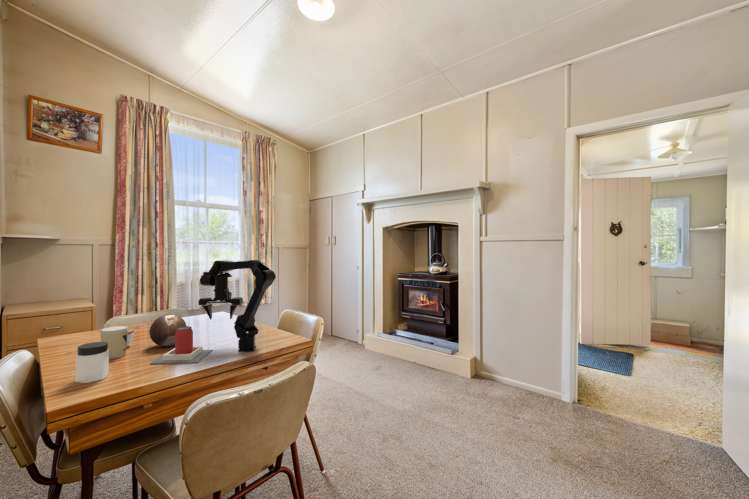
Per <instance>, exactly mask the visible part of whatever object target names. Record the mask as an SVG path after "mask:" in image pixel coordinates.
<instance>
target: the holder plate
mask: <svg viewBox="0 0 749 499" xmlns="http://www.w3.org/2000/svg"><path fill="white" fill-rule="evenodd" d="M213 351H214V350H213V349H203V346H193V352H192V353H190V354H175V347H174V348H173V349H171V350H169V351H167V352H166V353H164V354H163V355H161V356H159V357H158V358H156V359H154V360H153V361H151V362H149V365H179V364H184V365H185V364H198V363H200V362H201V361H202V360H203V359H204V358H206V357H207V356H208V355H210V354H211V353H212V352H213Z"/></svg>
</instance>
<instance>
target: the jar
mask: <svg viewBox="0 0 749 499" xmlns="http://www.w3.org/2000/svg"><path fill="white" fill-rule="evenodd" d="M109 367H110V359H109V349H108V343H107V342H101V341H95V342H93V341H92V342H88V343H84V344H81V345H78V346H77V354H76V355H75V383H78V384H79V383H80V384H90V383H94V382H97V381H102V380H104V379H105V378H106V377H108V376H109V374H110V368H109Z"/></svg>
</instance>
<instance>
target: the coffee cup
mask: <svg viewBox="0 0 749 499" xmlns="http://www.w3.org/2000/svg"><path fill="white" fill-rule="evenodd" d="M99 333H100V342H107V343H108V349H109V360H113V359H119V358H123V357H125V356H126V351H127V347H126V344H127V333H128V326H126V325H115V326H108V327H104V328H102V329H101V330H100V332H99Z"/></svg>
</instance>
